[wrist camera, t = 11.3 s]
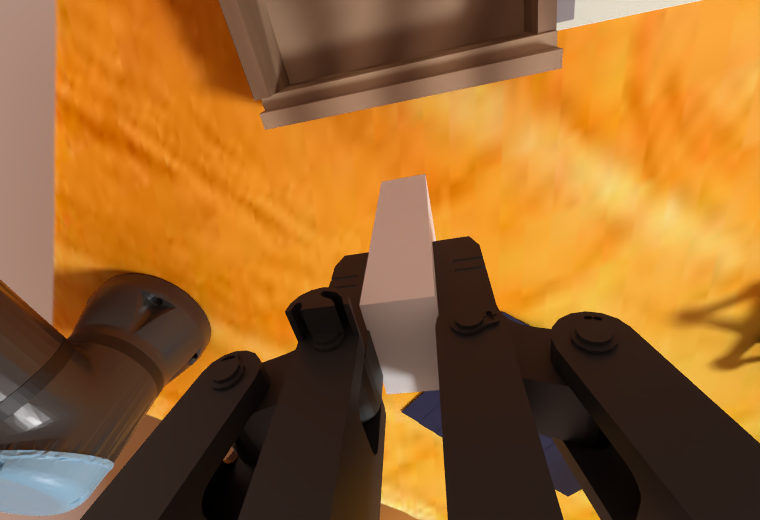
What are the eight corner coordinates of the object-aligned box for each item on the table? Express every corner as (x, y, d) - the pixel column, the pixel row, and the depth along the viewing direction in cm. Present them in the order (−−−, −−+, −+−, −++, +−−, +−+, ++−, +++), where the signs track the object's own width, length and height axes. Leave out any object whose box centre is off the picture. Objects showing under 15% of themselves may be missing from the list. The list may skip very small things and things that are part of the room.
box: (288, 111, 36) (265, 129, 30) (241, -35, 30) (202, -44, 25) (537, 57, 32) (562, 68, 26) (538, -122, 26) (569, -156, 21)
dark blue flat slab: (556, 484, 64) (560, 507, 61) (402, 398, 61) (399, 418, 58) (686, 409, 52) (701, 433, 49) (502, 297, 49) (505, 314, 46)
